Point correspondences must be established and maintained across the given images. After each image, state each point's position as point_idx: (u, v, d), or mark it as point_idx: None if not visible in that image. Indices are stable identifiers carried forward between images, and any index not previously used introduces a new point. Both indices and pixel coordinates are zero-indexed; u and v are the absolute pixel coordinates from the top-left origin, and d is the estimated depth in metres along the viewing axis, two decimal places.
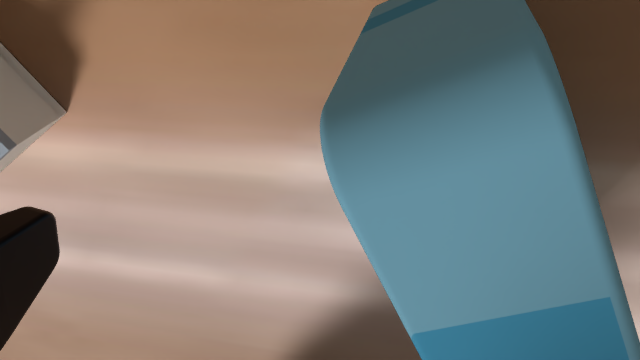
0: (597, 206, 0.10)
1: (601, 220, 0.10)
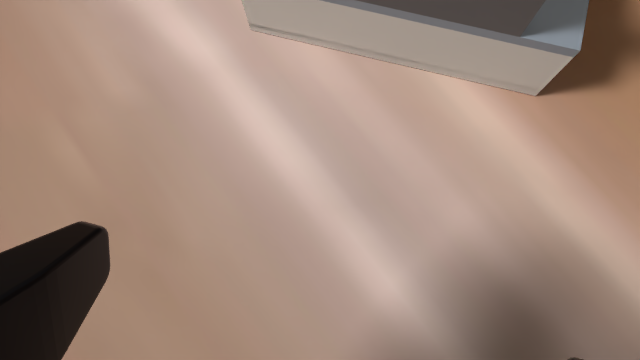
0: None
1: None
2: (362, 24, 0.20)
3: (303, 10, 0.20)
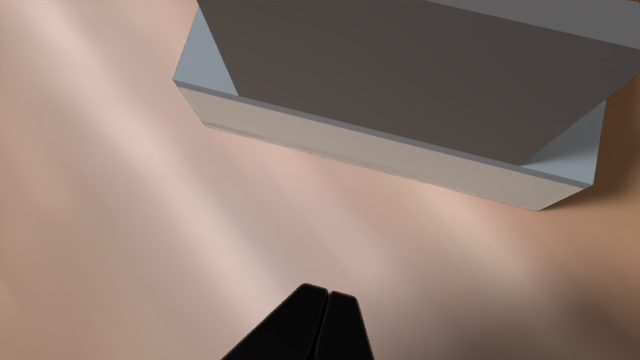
0: None
1: None
2: (330, 135, 0.16)
3: (260, 117, 0.16)
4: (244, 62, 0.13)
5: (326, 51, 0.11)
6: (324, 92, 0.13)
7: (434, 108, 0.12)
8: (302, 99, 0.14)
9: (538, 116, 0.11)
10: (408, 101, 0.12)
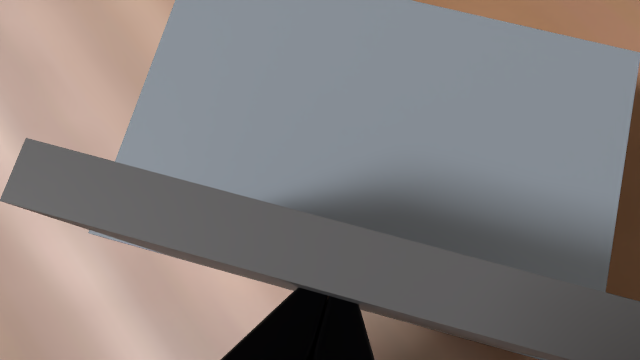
0: None
1: None
2: None
3: None
4: (158, 250, 0.10)
5: (246, 273, 0.08)
6: (260, 279, 0.11)
7: (393, 316, 0.10)
8: (238, 274, 0.11)
9: (523, 351, 0.09)
10: (360, 307, 0.10)
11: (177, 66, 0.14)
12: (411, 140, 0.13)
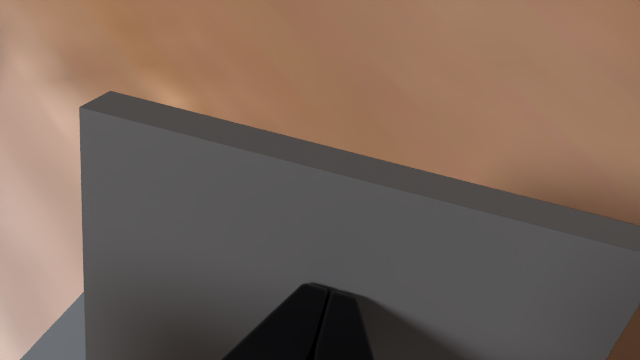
0: None
1: None
2: None
3: None
4: (115, 335, 0.09)
5: (238, 297, 0.08)
6: None
7: None
8: None
9: None
10: None
11: None
12: None
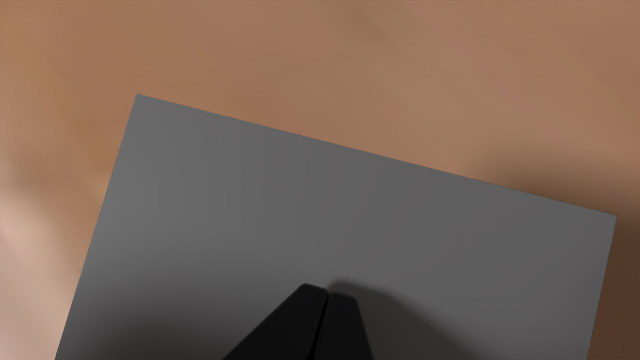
0: None
1: None
2: None
3: None
4: (96, 345, 0.09)
5: (244, 282, 0.08)
6: None
7: None
8: None
9: None
10: None
11: None
12: None
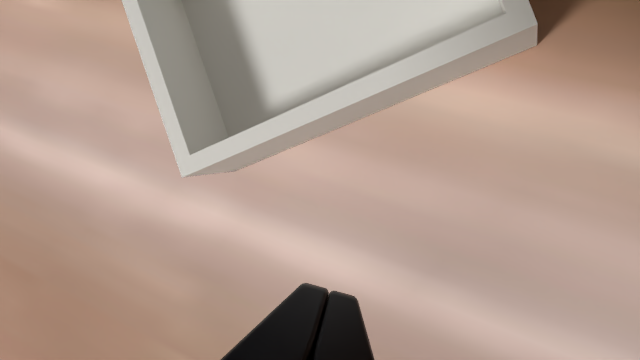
0: None
1: None
2: (310, 127, 0.17)
3: (253, 151, 0.18)
4: None
5: None
6: None
7: None
8: None
9: None
10: None
11: None
12: None
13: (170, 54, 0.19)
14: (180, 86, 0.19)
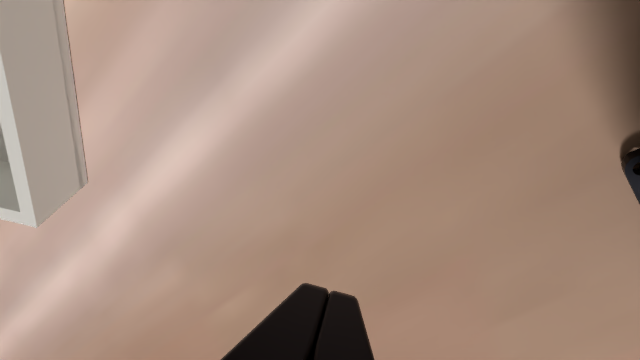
0: None
1: None
2: (33, 109, 0.19)
3: (42, 163, 0.20)
4: None
5: None
6: None
7: None
8: None
9: None
10: None
11: None
12: None
13: None
14: None
